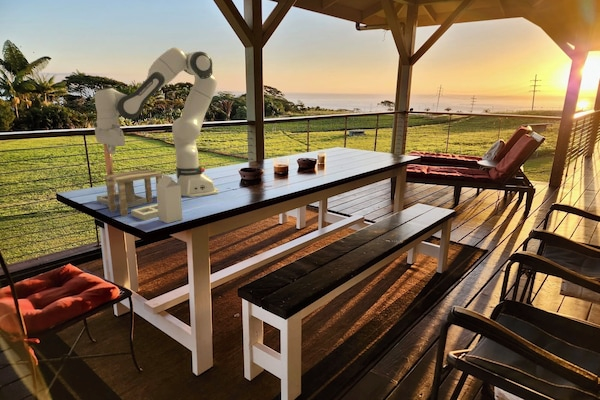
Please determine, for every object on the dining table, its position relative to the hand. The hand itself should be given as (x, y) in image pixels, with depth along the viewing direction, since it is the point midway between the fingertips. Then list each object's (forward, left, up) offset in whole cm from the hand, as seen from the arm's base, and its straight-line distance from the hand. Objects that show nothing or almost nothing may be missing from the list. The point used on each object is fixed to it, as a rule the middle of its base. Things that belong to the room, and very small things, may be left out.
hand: (112, 154), depth 182 cm
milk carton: (-21, +38, -23) cm, 49 cm away
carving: (-5, +9, -23) cm, 25 cm away
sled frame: (-2, +4, -23) cm, 23 cm away
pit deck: (-14, +27, -23) cm, 39 cm away
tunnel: (-9, +16, -23) cm, 30 cm away
